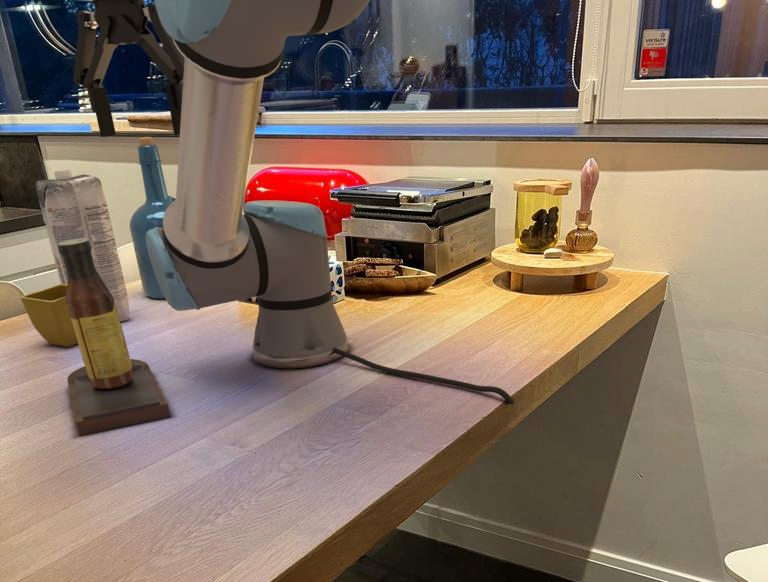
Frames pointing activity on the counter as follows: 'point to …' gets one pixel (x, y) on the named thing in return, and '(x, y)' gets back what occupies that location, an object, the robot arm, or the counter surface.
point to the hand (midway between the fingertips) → (144, 135)
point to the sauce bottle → (95, 318)
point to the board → (116, 401)
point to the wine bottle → (149, 213)
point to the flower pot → (51, 315)
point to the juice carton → (83, 228)
